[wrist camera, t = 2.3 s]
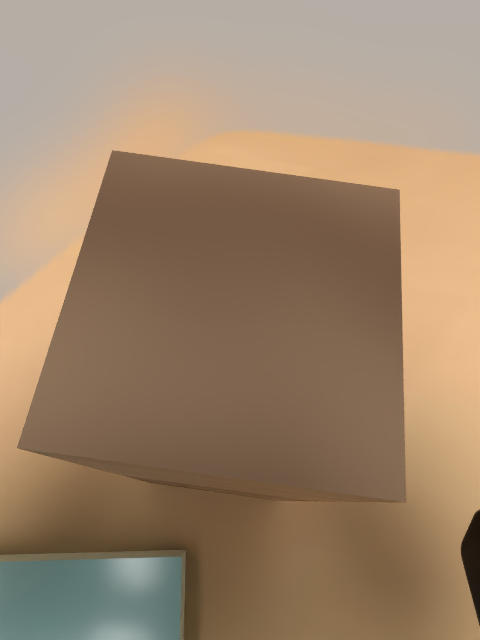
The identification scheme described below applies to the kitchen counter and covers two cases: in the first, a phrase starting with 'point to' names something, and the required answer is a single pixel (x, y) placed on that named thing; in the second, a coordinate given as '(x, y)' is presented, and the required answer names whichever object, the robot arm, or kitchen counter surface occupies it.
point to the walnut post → (231, 336)
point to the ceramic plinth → (93, 595)
